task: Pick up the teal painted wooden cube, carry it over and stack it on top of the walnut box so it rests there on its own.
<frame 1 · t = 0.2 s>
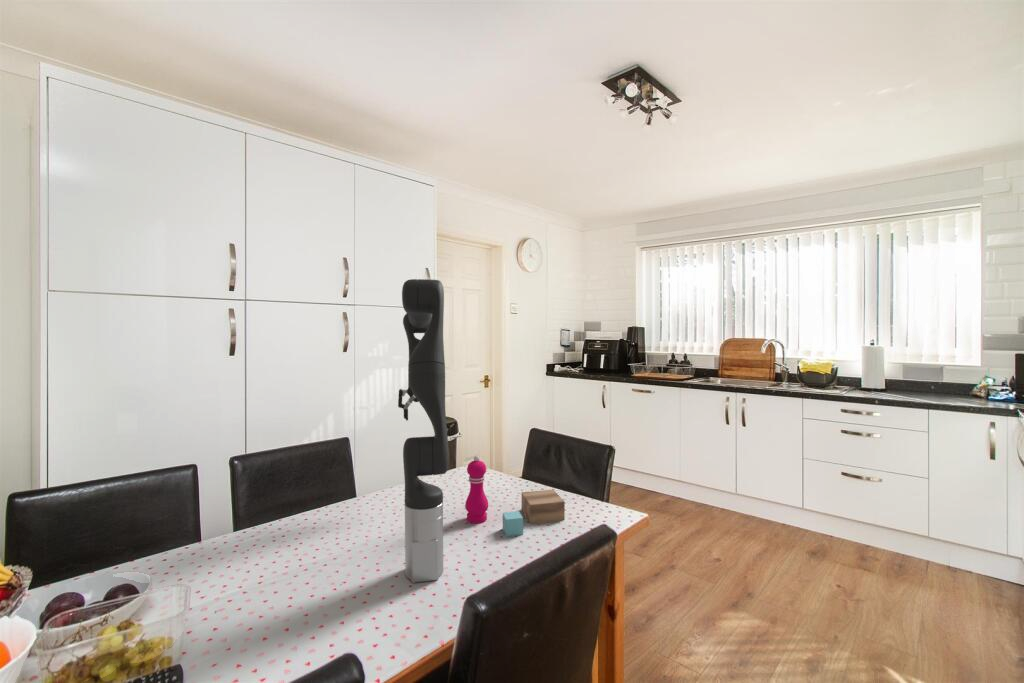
hand: (420, 419, 156), 29 cm above the table, tool pointing down, fingers open, 8 cm apart
walnut box: (542, 515, 148), on the table
pepper mill: (476, 520, 144), on the table
teal cube: (512, 532, 136), on the table
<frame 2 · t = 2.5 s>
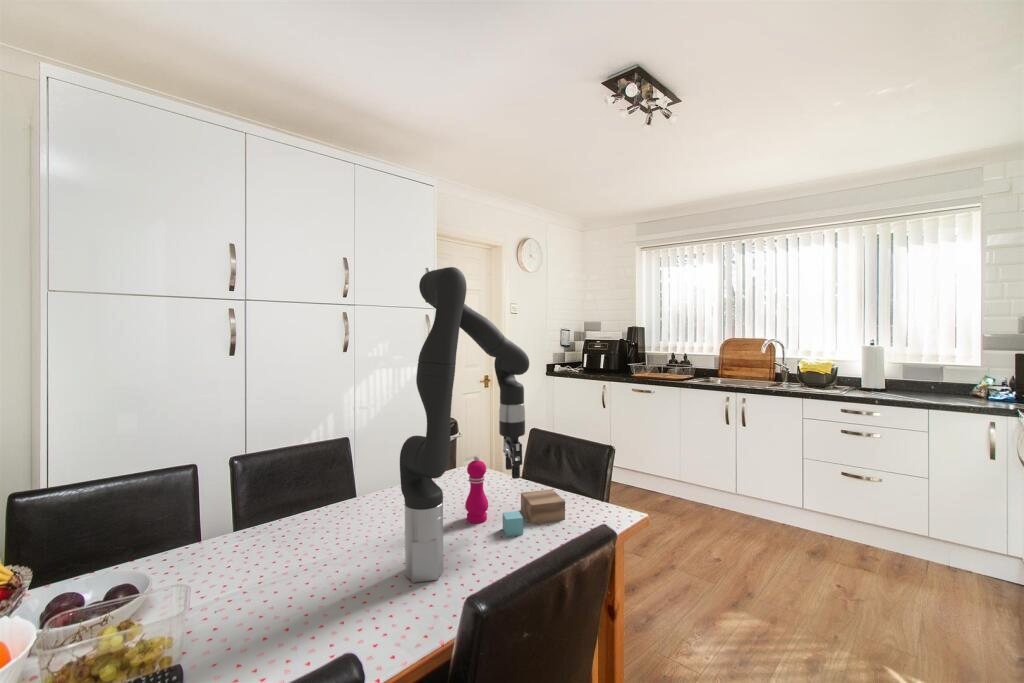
hand: (512, 473, 135), 17 cm above the table, tool pointing down, fingers open, 8 cm apart
nothing on the table moved.
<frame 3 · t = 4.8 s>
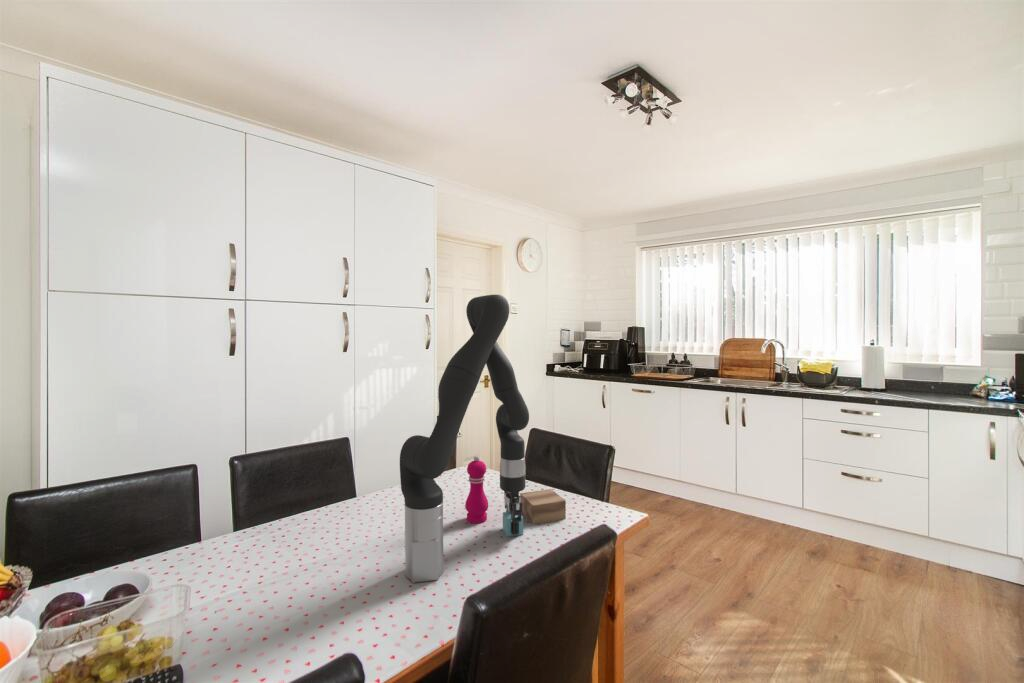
hand: (512, 529, 135), 1 cm above the table, tool pointing down, fingers closed on teal cube, 5 cm apart
teal cube: (512, 531, 135), on the table, touching gripper
everything else where it was.
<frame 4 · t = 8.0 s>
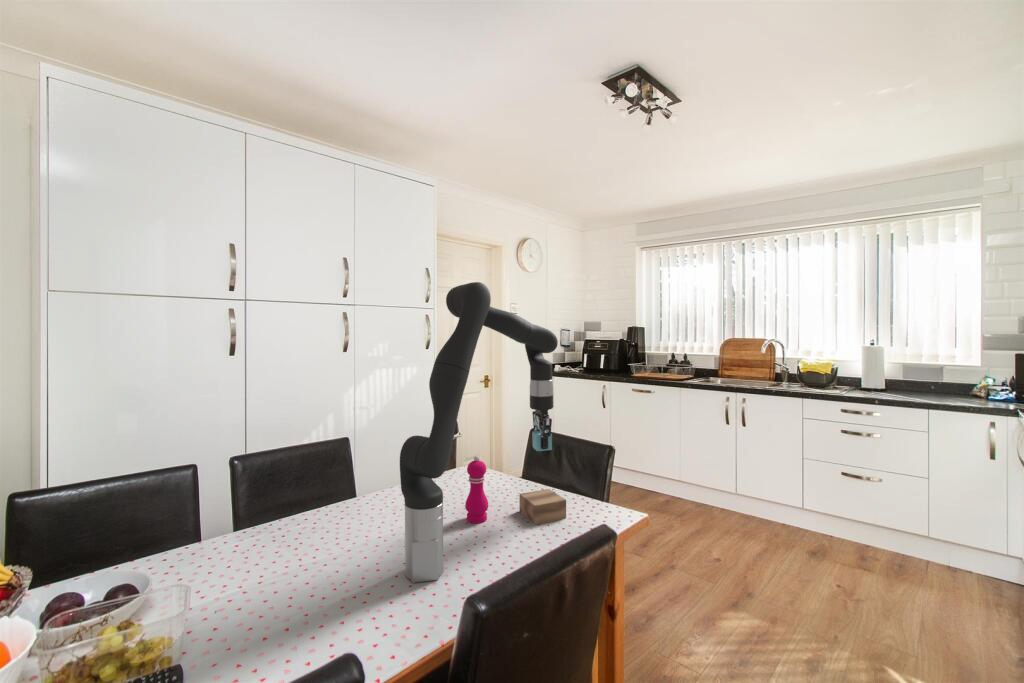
hand: (541, 446, 147), 22 cm above the table, tool pointing down, fingers closed on teal cube, 5 cm apart
teal cube: (542, 448, 147), point 21 cm above the table, touching gripper
everything else where it was.
when the fingers open (8 cm above the table, at t = 11.5 s): teal cube drops 2 cm, resting on walnut box.
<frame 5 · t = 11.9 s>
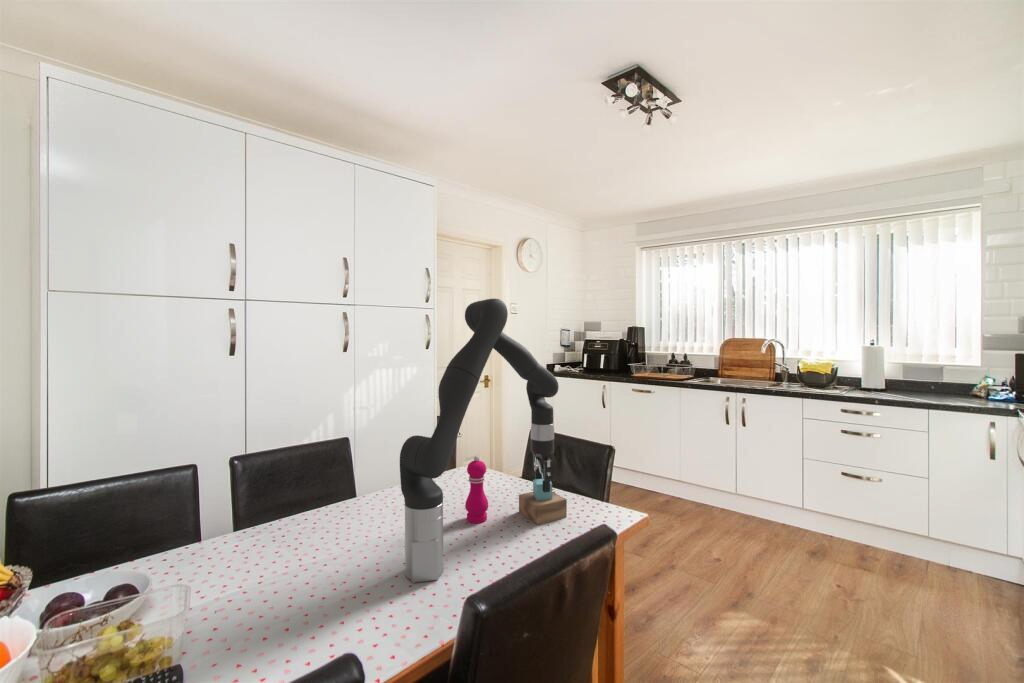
hand: (542, 487, 148), 9 cm above the table, tool pointing down, fingers open, 8 cm apart
walnut box: (542, 515, 148), on the table, touching teal cube
teal cube: (542, 496, 148), point 6 cm above the table, touching walnut box
everything else where it was.
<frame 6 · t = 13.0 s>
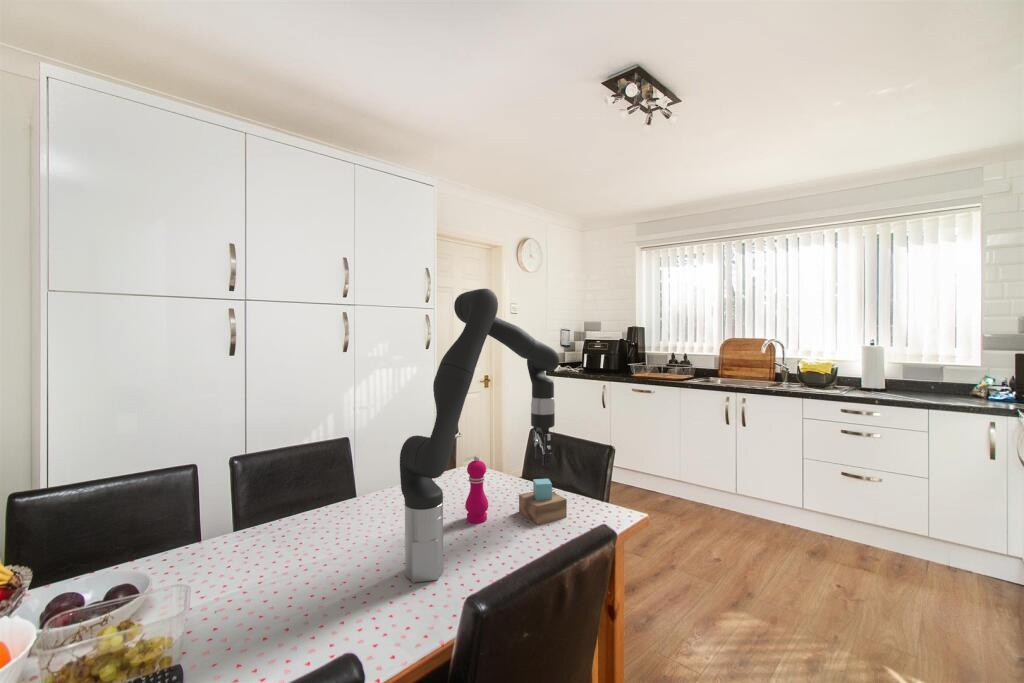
hand: (542, 462, 147), 17 cm above the table, tool pointing down, fingers open, 8 cm apart
nothing on the table moved.
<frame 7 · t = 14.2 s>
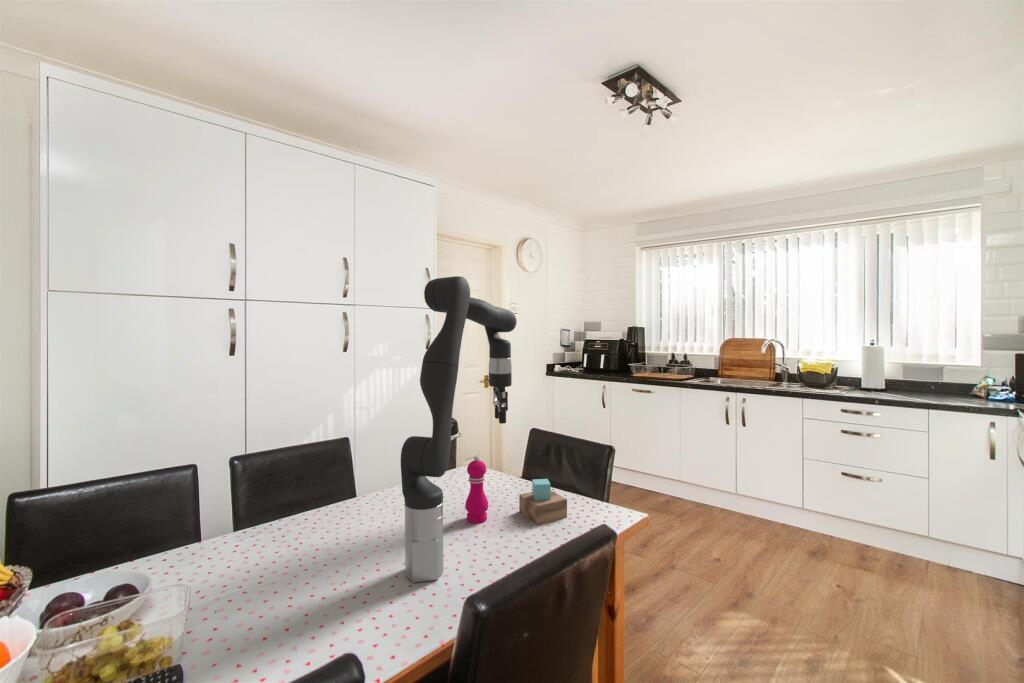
hand: (500, 420, 152), 29 cm above the table, tool pointing down, fingers open, 8 cm apart
nothing on the table moved.
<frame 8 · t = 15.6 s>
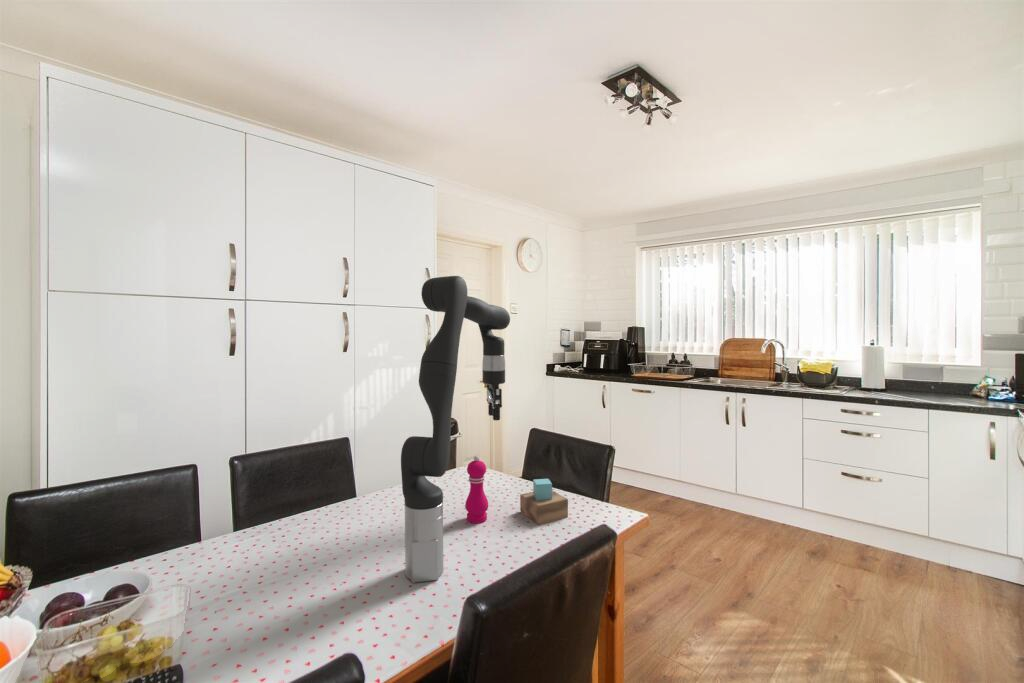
hand: (494, 417, 153), 30 cm above the table, tool pointing down, fingers open, 8 cm apart
nothing on the table moved.
at the end: teal cube inside the target area on the walnut box (0.4 cm from its centre), point 6.0 cm above the walnut box's base; teal cube tilted 0°; the gripper is holding nothing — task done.
